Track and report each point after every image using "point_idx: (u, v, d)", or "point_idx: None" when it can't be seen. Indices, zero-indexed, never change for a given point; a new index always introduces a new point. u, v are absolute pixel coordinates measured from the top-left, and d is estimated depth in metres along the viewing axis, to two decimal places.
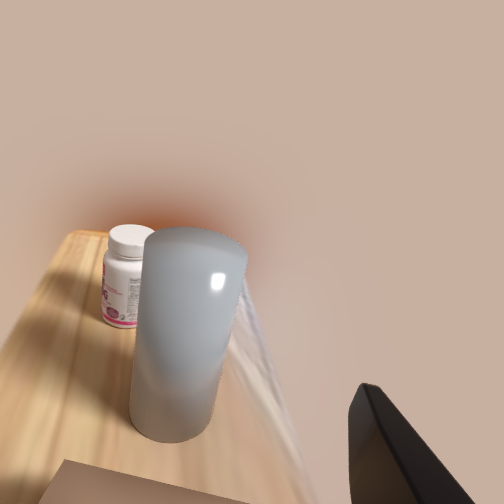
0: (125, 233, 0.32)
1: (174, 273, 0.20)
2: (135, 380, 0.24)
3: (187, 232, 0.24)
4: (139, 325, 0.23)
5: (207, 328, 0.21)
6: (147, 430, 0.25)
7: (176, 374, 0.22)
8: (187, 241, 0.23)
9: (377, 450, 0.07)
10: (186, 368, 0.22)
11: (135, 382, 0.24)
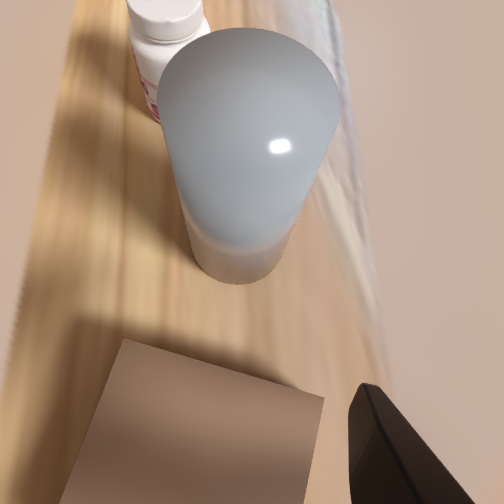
0: None
1: (208, 171, 0.12)
2: (189, 235, 0.21)
3: (233, 48, 0.13)
4: (179, 195, 0.17)
5: (269, 220, 0.15)
6: (211, 273, 0.23)
7: (233, 252, 0.18)
8: (232, 77, 0.13)
9: (377, 450, 0.07)
10: (244, 248, 0.17)
11: (190, 236, 0.21)
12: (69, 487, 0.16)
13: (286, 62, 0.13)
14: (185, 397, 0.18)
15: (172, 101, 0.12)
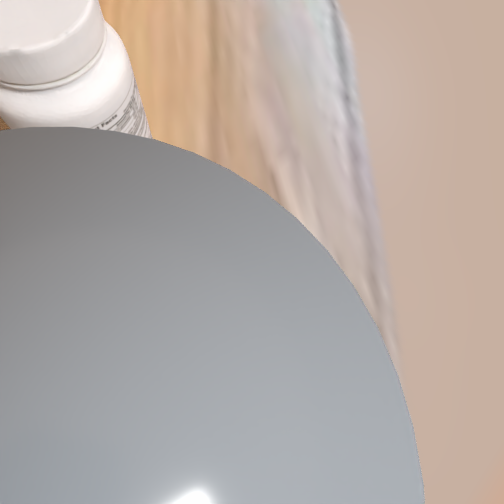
0: None
1: None
2: None
3: None
4: None
5: None
6: None
7: None
8: None
9: None
10: None
11: None
12: None
13: (195, 278, 0.03)
14: None
15: None
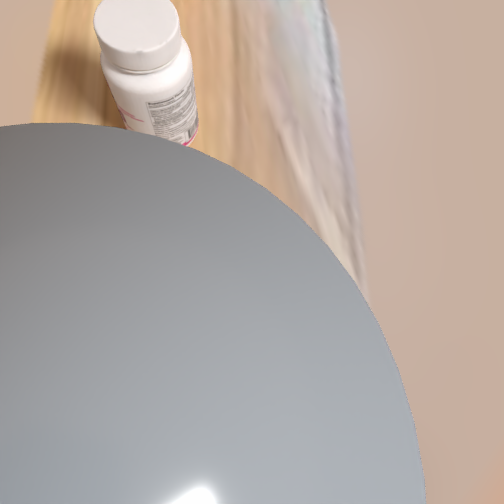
0: (120, 18, 0.18)
1: None
2: None
3: None
4: None
5: None
6: None
7: None
8: None
9: None
10: None
11: None
12: None
13: (196, 274, 0.03)
14: None
15: None
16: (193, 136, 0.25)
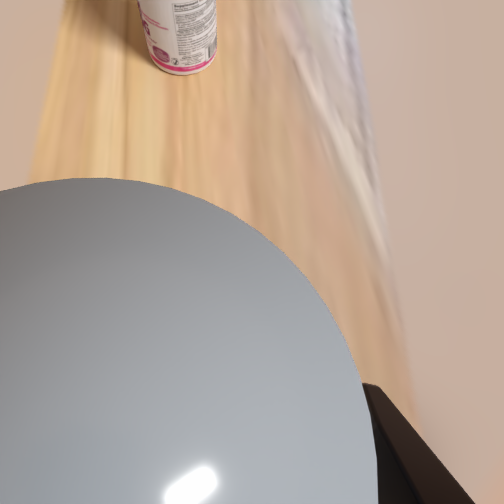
0: None
1: None
2: None
3: (38, 254, 0.04)
4: None
5: None
6: None
7: None
8: (15, 375, 0.04)
9: (377, 450, 0.07)
10: None
11: None
12: None
13: (204, 301, 0.04)
14: None
15: None
16: (212, 58, 0.26)
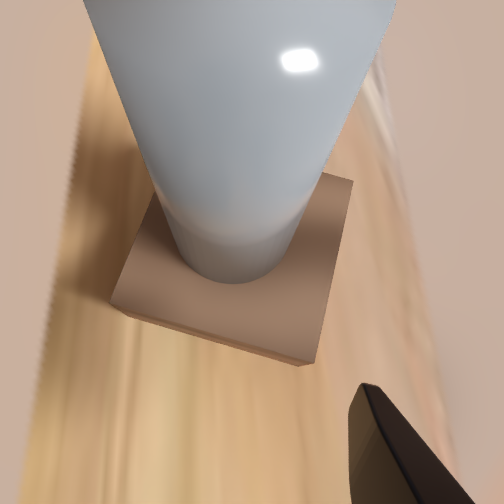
0: None
1: (167, 85, 0.06)
2: None
3: None
4: None
5: (275, 188, 0.10)
6: (198, 270, 0.18)
7: (224, 239, 0.13)
8: None
9: (377, 450, 0.07)
10: (239, 234, 0.12)
11: (168, 221, 0.16)
12: (139, 236, 0.19)
13: None
14: None
15: None
16: None
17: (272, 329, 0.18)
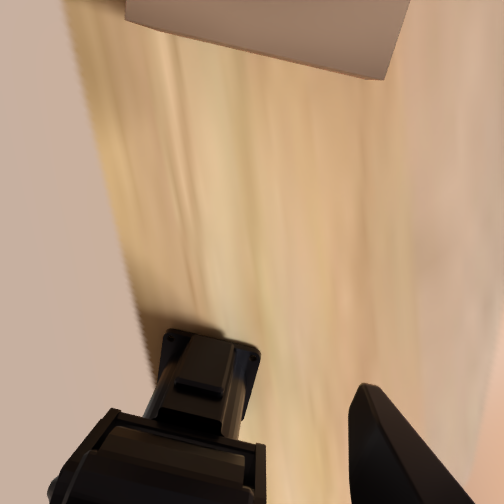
0: None
1: None
2: None
3: None
4: None
5: None
6: None
7: None
8: None
9: (377, 450, 0.07)
10: None
11: None
12: None
13: None
14: None
15: None
16: None
17: (332, 38, 0.14)
